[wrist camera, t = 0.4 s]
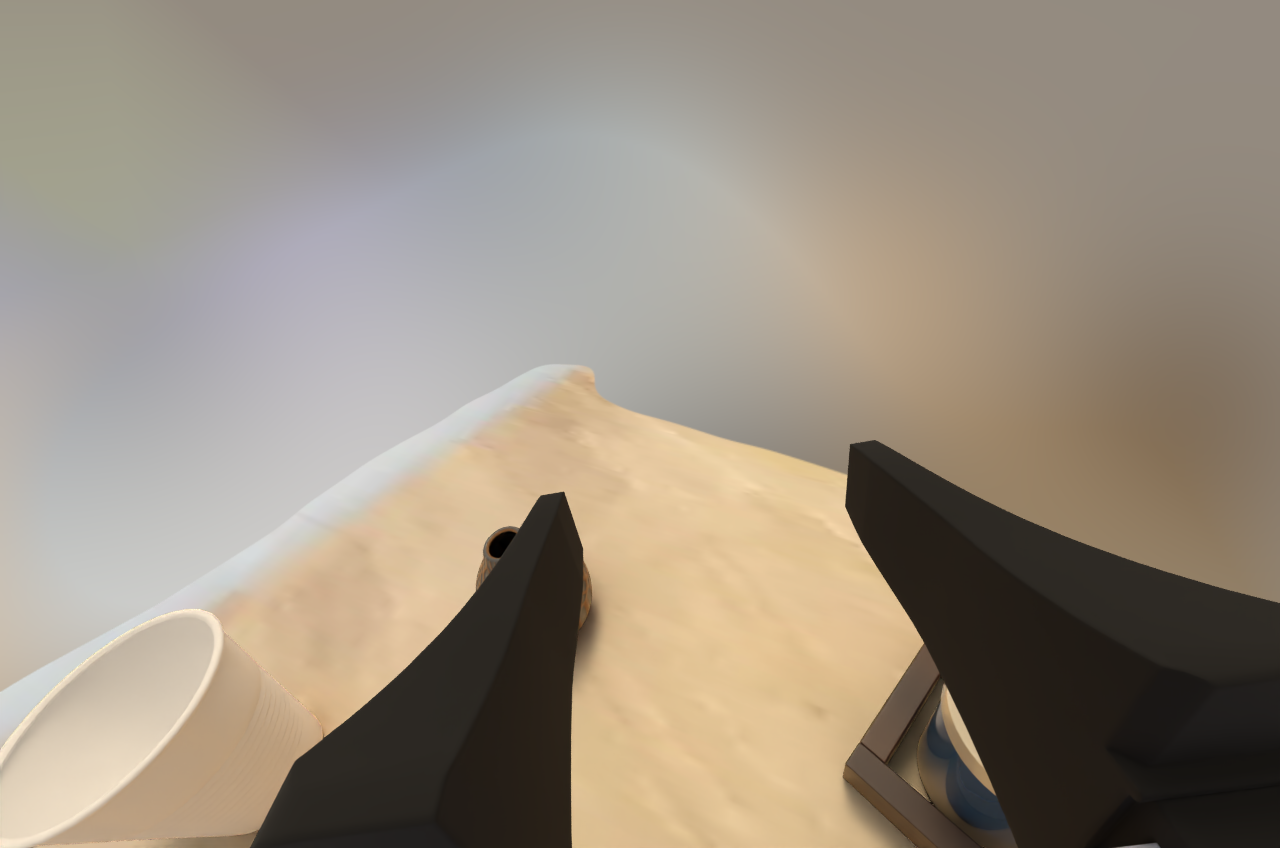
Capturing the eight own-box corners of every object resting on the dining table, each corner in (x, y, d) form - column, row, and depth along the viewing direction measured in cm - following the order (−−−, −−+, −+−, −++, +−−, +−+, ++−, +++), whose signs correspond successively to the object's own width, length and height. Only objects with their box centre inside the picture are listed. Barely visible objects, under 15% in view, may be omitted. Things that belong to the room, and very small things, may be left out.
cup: (149, 903, 25) (-104, 882, 18) (240, 703, 33) (86, 633, 26) (324, 858, 25) (135, 819, 18) (375, 667, 33) (256, 587, 26)
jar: (1093, 839, 20) (1202, 795, 14) (964, 874, 20) (1025, 844, 14) (995, 698, 24) (1050, 623, 18) (889, 727, 24) (914, 661, 19)
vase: (531, 565, 36) (480, 492, 30) (615, 575, 34) (577, 498, 28) (489, 658, 31) (420, 592, 26) (584, 676, 29) (531, 608, 23)
